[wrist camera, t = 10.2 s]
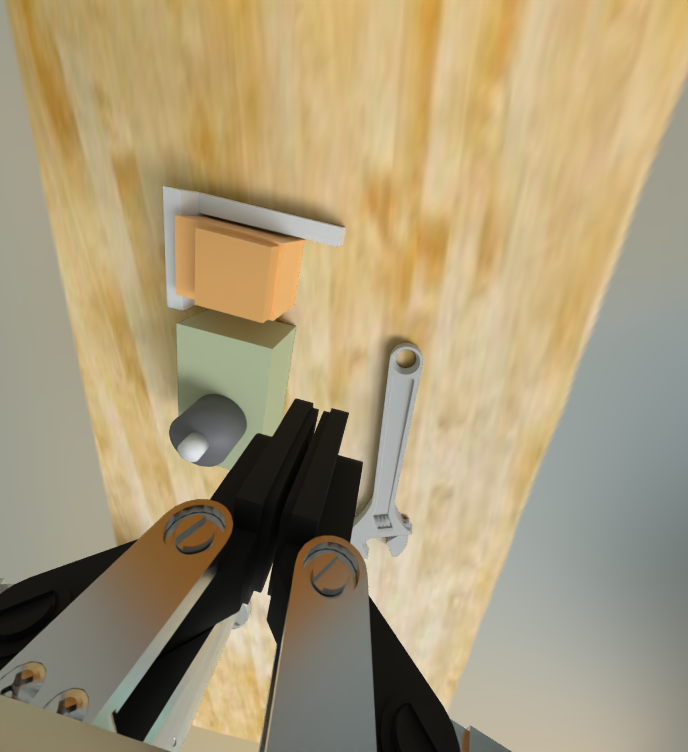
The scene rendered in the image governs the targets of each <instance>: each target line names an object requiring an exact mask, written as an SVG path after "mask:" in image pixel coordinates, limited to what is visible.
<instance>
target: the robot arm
mask: <svg viewBox="0 0 688 752" xmlns="http://www.w3.org/2000/svg"><path fill="white" fill-rule="evenodd" d="M318 412H319V409H315V408H313V403H311V402H307V401H304V400H300V399H295V400H294V402H293V403H292V405H291V407H290V408H289V410H288V411H287V413H286V415H285V416H284V418H283V420H282V421H281V423H280V425H279V426H278V428H277V429H276V431H275V433H274V434H273V436H272V437H271V436H268V435H264V434H261V433H257V434H256V435H255V436H254V437H253V439H252V440H251V441H250V443H249V444H248V446H247V447H246V449H245V450H244V451H243V453H242V454H241V456H240V457H239V459H238V460H237V461H236V463H235V464H234V466H233V467H232V469H231V470H230V472H229V473H228V474H227V476H226V477H225V479H224V480H223V482H222V483H221V484H220V486H219V487H218V489H217V490H216V492H215V493H214V494H213V496H212V497H211V499H210V500H209V499H196V500H191V501H186V502H184V503H182V504H180V505H177V506H175V507H174V508H172V509H171V510H170V511H168V512H167V513H166V514H165V515H163V516H162V517H161V518H160V519H159V520H158V521H157V522H156V523H155V524H154V525H153V526H152V527H151V528H150V529H149V530H148V531H147V532H146V533H145V534H144V535H142V536H141V537H140V538H139V539H137V540H135V541H132V542H129V543H126V544H123V545H120V546H118V547H115V548H112V549H109V550H106V551H104V552H101V553H98V554H95V555H92V556H89V557H86V558H84V559H81V560H78V561H75V562H72V563H69V564H67V565H64V566H61V567H58V568H56V569H52V570H50V571H47V572H44V573H41V574H39V575H36V576H33V577H30V578H28V579H26V580H23V581H21V582H19V583H17V584H7V583H6V581H5V579H3V578H0V752H180V750H181V748H182V746H183V744H184V741H185V739H186V736H187V734H188V732H189V729H190V727H191V725H192V722H193V720H194V717H195V715H196V713H197V710H198V708H199V706H200V703H201V701H202V698H203V696H204V694H205V691H206V689H207V687H208V684H209V682H210V679H211V677H212V675H213V672H214V670H215V668H216V665H217V663H218V660H219V658H220V656H221V653H222V651H223V648H224V646H225V644H226V641H227V639H228V637H229V634H230V632H231V629H236V628H239V627H241V626H242V625H244V624H245V623H246V621H247V620H248V617H249V615H250V612H251V604H250V599H251V596H252V594H253V591H257V592H260V593H261V592H262V590H263V587H264V585H265V582H266V579H267V577H268V574H269V572H270V569H271V566H272V564H273V566H272V571H271V577H270V583H269V588H268V594H267V595H270V596H271V600H270V605H269V610H268V615H267V622H268V624H269V627H270V629H271V631H272V634H273V636H274V639H275V641H276V643H277V645H276V650H275V656H274V662H273V668H272V674H271V680H270V686H269V692H268V698H267V704H266V710H265V716H264V722H263V727H262V733H261V739H260V746H259V752H511V751H510V750H508V749H507V748H505V747H504V746H502V745H500V744H499V743H497V742H496V741H494V740H493V739H491V738H489V737H488V736H486V735H484V734H483V733H481V732H480V731H478V730H476V729H475V728H473V727H472V726H469V727H468V728H467V729H465V728H464V727H462V726H461V725H459V724H457V723H456V722H454V721H453V720H451V719H450V718H449V716H448V714H447V712H446V711H445V709H444V707H443V705H442V704H441V702H440V701H439V699H438V698H437V696H436V695H435V693H434V692H433V690H432V689H431V687H430V686H429V684H428V683H427V681H426V680H425V678H424V677H423V675H422V674H421V672H420V671H419V669H418V668H417V667H416V665H415V664H414V662H413V661H412V659H411V658H410V656H409V655H408V653H407V652H406V650H405V649H404V647H403V646H402V644H401V643H400V641H399V640H398V638H397V637H396V635H395V634H394V632H393V631H392V629H391V628H390V626H389V625H388V623H387V622H386V620H385V619H384V617H383V616H382V614H381V613H380V611H379V610H378V608H377V607H376V605H375V604H374V602H373V601H372V599H371V598H370V596H369V595H368V577H367V570H366V565H365V561H364V559H363V558H362V556H361V554H360V552H359V551H358V550H357V549H356V548H355V547H354V546H353V545H352V544H351V543H350V542H351V535H352V529H353V523H354V517H355V510H356V504H357V498H358V491H359V485H360V479H361V472H362V466H363V462H361V461H358V460H354V459H351V458H347V457H343V456H340V455H338V453H339V449H340V445H341V442H342V438H343V434H344V430H345V426H346V423H347V419H348V415H349V413H348V412H344V411H341V410H337V409H333V408H332V409H331V412H326V411H324V412H323V414H322V416H321V419H320V421H319V423H318V426H317V428H316V431H315V426H316V422H317V417H318ZM314 431H315V433H314Z"/></svg>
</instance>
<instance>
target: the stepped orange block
mask: <svg viewBox="0 0 688 752" xmlns="http://www.w3.org/2000/svg"><path fill="white" fill-rule="evenodd" d="M304 242H305V240H304V239H300V238H296V237H292V236H288V235H284V234H280V233H276V232H273V231H269V230H265V229H261V228H257V227H253V226H249V225H246V224H242V223H238V222H234V221H230V220H226V219H222V218H218V217H208V216H184V215H175V266H176V295H179V296H183V297H186V298H190V299H194V305H198V306H201V307H205V308H209V309H212V310H216V311H220V312H223V313H227V314H231V315H234V316H238V317H242V318H245V319H249V320H253V321H257V322H260V323H264V322H265V321H266V320H271V321H274V320H275V319H277V318H278V317H279V316H281V315H282V314H283V313H285V312H286V311H287V310H289V309H290V308H291V307H293V306H294V305H295V300H296V293H297V287H298V280H299V274H300V268H301V261H302V255H303V248H304Z"/></svg>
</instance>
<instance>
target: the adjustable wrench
mask: <svg viewBox="0 0 688 752" xmlns="http://www.w3.org/2000/svg"><path fill="white" fill-rule="evenodd" d="M405 349H408V350H411V351H413V352H414V353H415V355H416V362H415V364H414V365H413V366H412V367H410V368H402V367H400V366H399V365H398V364H397V362H396V356H397V354H398V352H400V351H401V350H405ZM422 365H423V358H422V353H421V351H420V349H419V348H418V347H417V346H416V345H414V344H411V343H401V344H398V345H397V346H396V347H394V349H393V350H392V351H391V355H390V361H389V369H388V377H387V386H386V394H385V402H384V410H383V419H382V427H381V435H380V443H379V452H378V460H377V468H376V476H375V485H374V492H373V495H372V497H371V499H370V501H369V502H368V504H367V505H366V507H365V508H364V509H363V510H362V511H361V513H360V514H359V515H358V516H357V517H356V518H355V519H354V523H353V529H352V535H351V542H350V543H351V544H352V545H353V546H354V547H355V548H356V549H357V550H358V551H359V552H360V554H361V556H362V558H365V559H368V550H369V548H368V546H367V544H366V541H367V540H369V539H370V538H379V537H387V545H388V547H389V550H390V553H391V555H392V557H397V556H398V555H399V554H400V553H401V552H402V551H403V550H404V549H405V547H406V545H407V540H408V535H410V534H412V524H411V523H410V520H409V519H404V518H403V517H402V515H401V514H400V512H399V511H398V509H397V508H396V505H395V496H396V491H397V487H398V482H399V477H400V472H401V467H402V462H403V457H404V453H405V448H406V443H407V438H408V433H409V428H410V423H411V419H412V414H413V409H414V404H415V399H416V394H417V389H418V385H419V380H420V375H421V370H422Z"/></svg>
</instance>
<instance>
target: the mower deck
mask: <svg viewBox="0 0 688 752" xmlns="http://www.w3.org/2000/svg"><path fill="white" fill-rule="evenodd" d="M163 207H164V234H165V261H166V288H167V307H170V308H174V309H177V310H181V311H184V310H186V309H189V308H191V307H194V306H196V305H194V299H190V298H186V297H183V296H179V295H176V266H175V215H184V216H208V217H214V216H215V217H219V218H223V219H227V220H231V221H235V222H239V223H243V224H247V225H251V226H255V227H259V228H263V229H267V230H271V231H275V232H279V233H283V234H287V235H292V236H296V237H300V238H304V239H308V240H312V241H316V242H320V243H324V244H328V245H332V246H336V247H339V246H342V245H343V241H344V236H345V230H346V227H341V226H337V225H333V224H329V223H325V222H321V221H317V220H313V219H309V218H305V217H300V216H296V215H292V214H288V213H284V212H280V211H276V210H272V209H268V208H264V207H259V206H255V205H251V204H247V203H243V202H239V201H235V200H231V199H227V198H223V197H218V196H214V195H210V194H206V193H202V192H197V191H191V190H185V189H179V188H173V187H166V186H163ZM176 331H177V372H178V412H179V417H177V418H176V419H175V420H174V421H173V422H172V424H171V426H170V430H169V435H170V440H171V442H172V444H173V446H174V448H175V449H176V450H177V452H178V453H179V455H180V456H181V457H182V458H183V459H184V460H186V461H188V462H192V463H194V464H197V465H200V466H206V467H210V466H219V467H223V468H226V469H230V470H231V469H232V467H233V466H234V464H235V463H236V461H237V460H238V459H239V457H240V456H241V454H242V453H243V451H244V450H245V449H246V447H247V446H248V444H249V443H250V441H251V440H252V439H253V437H254V436H255V435H256V434H257V433H261V434H264V435H268V436H271V437H272V436H273V434H274V433H275V431H276V429H277V428H278V426H279V425H280V423H281V421H282V416H283V410H284V403H285V397H286V390H287V384H288V377H289V371H290V364H291V357H292V351H293V344H294V338H295V331H296V326H293V325H289V324H286V323H282V322H278V321H271V320H266V321H265V322H264V323H260V322H257V321H253V320H249V319H245V318H242V317H238V316H234V315H231V314H227V313H223V312H220V311H216V310H212V309H208V310H206V311H203V312H201V313H199V314H197V315H194V316H192V317H190V318H187V319H185V320H183V321H181V322H178V323H176Z"/></svg>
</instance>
